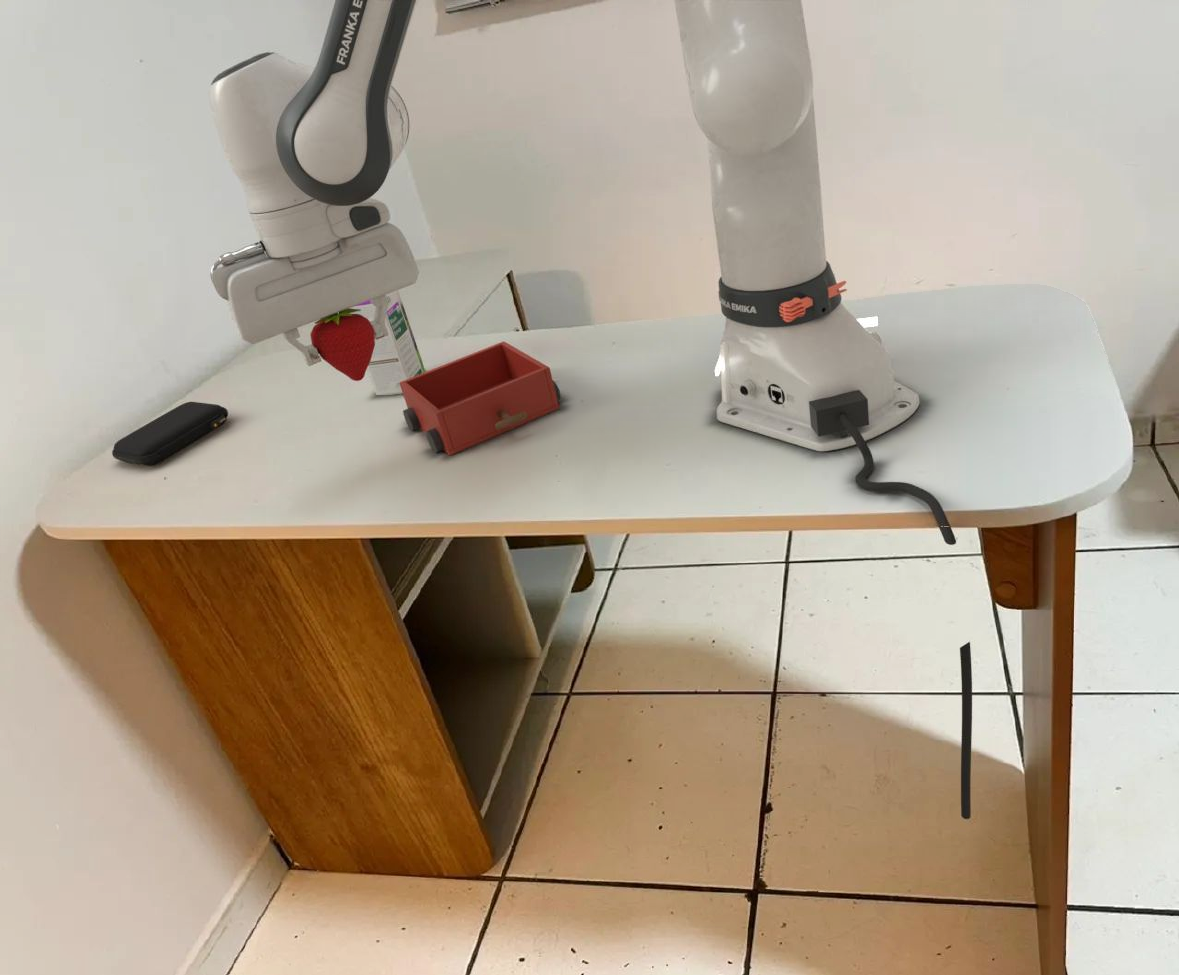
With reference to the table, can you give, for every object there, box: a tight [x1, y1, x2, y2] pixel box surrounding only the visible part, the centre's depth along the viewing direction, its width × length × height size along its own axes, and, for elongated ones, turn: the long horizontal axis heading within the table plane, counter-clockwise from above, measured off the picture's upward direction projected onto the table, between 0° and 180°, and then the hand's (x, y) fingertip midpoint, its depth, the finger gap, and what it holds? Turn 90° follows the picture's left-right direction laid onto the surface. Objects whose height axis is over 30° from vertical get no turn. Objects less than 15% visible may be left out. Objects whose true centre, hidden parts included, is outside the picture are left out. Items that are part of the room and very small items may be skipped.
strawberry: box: [309, 308, 375, 382], centre depth 103 cm, size 6×8×10 cm
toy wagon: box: [399, 340, 562, 456], centre depth 115 cm, size 17×17×6 cm
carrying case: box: [111, 401, 229, 467], centre depth 130 cm, size 11×3×15 cm
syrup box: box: [349, 290, 427, 396], centre depth 129 cm, size 6×6×14 cm
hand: (348, 349), depth 104 cm, fingers closed on strawberry, 6 cm apart
